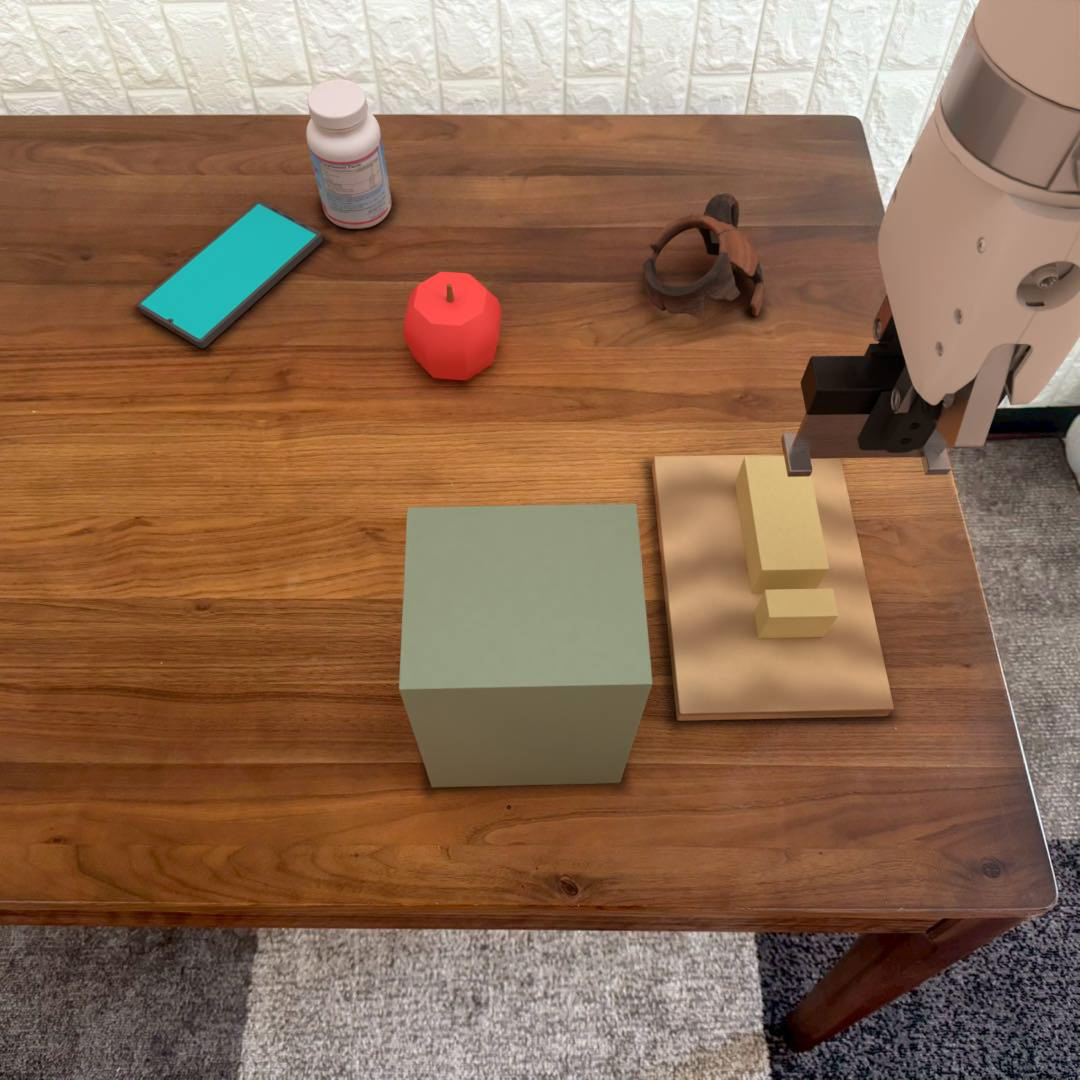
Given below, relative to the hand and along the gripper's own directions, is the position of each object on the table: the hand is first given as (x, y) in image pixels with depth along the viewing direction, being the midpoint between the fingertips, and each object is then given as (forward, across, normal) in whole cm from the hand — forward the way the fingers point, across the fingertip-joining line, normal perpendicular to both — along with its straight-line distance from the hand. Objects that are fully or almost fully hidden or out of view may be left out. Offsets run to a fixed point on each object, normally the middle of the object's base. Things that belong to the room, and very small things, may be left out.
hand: (883, 420), depth 48 cm
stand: (+22, -7, +18) cm, 30 cm away
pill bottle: (+23, +40, +32) cm, 56 cm away
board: (+22, +2, +1) cm, 23 cm away
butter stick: (+21, +5, 0) cm, 22 cm away
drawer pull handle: (+3, 0, 0) cm, 3 cm away
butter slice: (+21, -2, 0) cm, 21 cm away
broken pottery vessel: (+23, +30, +2) cm, 38 cm away
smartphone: (+23, +32, +42) cm, 58 cm away
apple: (+23, +23, +23) cm, 40 cm away
